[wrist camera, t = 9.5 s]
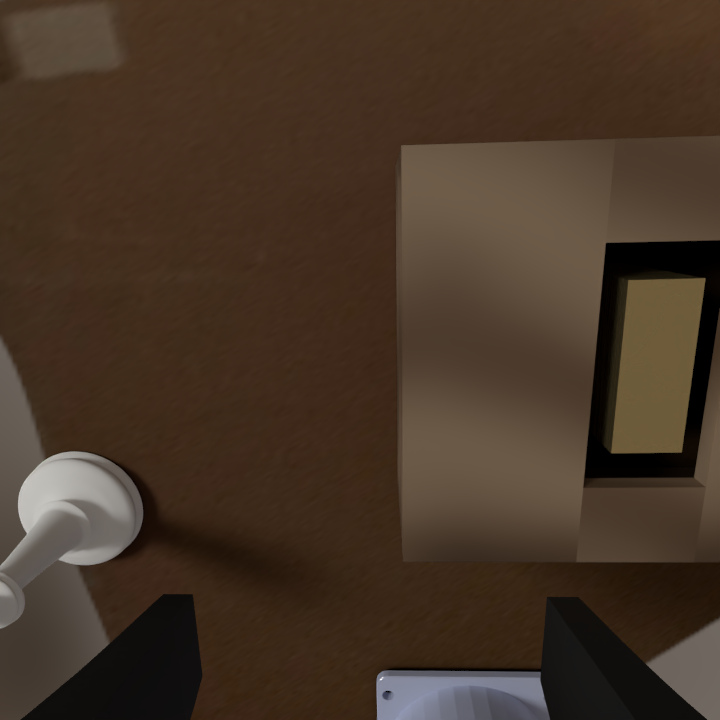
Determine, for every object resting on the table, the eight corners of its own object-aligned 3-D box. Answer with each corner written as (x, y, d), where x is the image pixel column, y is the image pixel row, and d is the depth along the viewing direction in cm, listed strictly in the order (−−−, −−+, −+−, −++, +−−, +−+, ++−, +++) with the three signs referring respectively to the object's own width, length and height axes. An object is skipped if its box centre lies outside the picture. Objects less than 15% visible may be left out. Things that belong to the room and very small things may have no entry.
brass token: (608, 396, 20) (681, 452, 15) (555, 397, 20) (611, 453, 15) (621, 262, 19) (705, 278, 14) (564, 264, 19) (628, 280, 14)
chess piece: (144, 458, 21) (-49, 655, 12) (143, 563, 23) (-32, 818, 13) (23, 444, 21) (-268, 628, 12) (29, 549, 23) (-229, 793, 13)
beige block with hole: (757, 480, 21) (875, 562, 16) (397, 482, 21) (403, 561, 16) (818, 153, 18) (987, 127, 13) (395, 165, 18) (401, 145, 13)
